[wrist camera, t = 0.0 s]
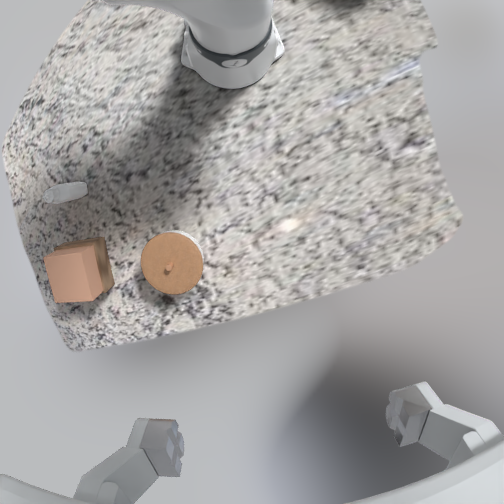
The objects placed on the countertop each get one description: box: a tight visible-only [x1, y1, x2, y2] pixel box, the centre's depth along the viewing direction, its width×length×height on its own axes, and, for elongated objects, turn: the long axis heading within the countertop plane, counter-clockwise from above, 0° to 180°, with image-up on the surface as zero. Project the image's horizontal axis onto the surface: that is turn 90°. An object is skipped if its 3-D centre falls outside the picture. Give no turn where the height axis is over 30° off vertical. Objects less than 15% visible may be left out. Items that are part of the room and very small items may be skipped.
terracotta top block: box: [43, 245, 104, 303], centre depth 51 cm, size 9×9×5 cm
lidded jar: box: [141, 230, 204, 294], centre depth 53 cm, size 11×11×9 cm
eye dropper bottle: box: [43, 182, 88, 204], centre depth 48 cm, size 4×6×12 cm
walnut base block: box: [54, 237, 115, 293], centre depth 56 cm, size 10×10×5 cm
